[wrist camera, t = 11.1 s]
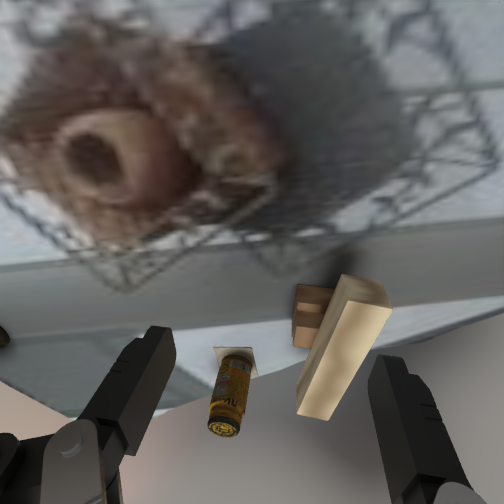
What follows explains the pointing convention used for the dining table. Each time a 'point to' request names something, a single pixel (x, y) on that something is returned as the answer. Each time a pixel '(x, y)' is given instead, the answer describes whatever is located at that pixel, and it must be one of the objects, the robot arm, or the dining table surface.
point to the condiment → (231, 390)
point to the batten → (341, 344)
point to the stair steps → (309, 313)
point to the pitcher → (3, 338)
